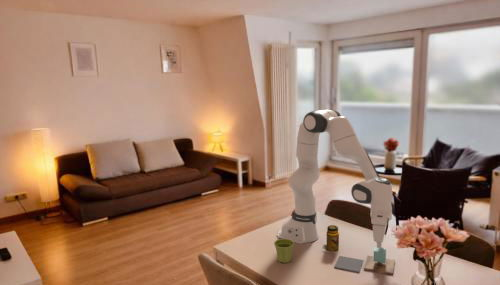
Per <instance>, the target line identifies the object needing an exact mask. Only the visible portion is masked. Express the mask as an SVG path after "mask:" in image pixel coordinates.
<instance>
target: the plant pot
mask: <svg viewBox="0 0 500 285" xmlns="http://www.w3.org/2000/svg"><path fill="white" fill-rule="evenodd" d="M294 244H295V242H293V241H292V240H289V239H281V238H278V239H277V240H275V241H274V242H273V245H274V247H275V250H276V256H277V261H278V262H279V263H283V264H284V263H290V262H291V260H292V252H293V248H294Z"/></svg>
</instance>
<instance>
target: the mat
mask: <svg viewBox="0 0 500 285" xmlns="http://www.w3.org/2000/svg"><path fill="white" fill-rule="evenodd" d="M363 262H364V259H361V258H360V259H358V258H353V257H347V256H342V255H338V257H337V260H336V262H335V264H334V266H333V268H334V269H338V270H343V271H347V272H352V273H358V274H360V272H361V269H362V265H363Z"/></svg>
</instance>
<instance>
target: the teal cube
mask: <svg viewBox="0 0 500 285" xmlns="http://www.w3.org/2000/svg"><path fill="white" fill-rule="evenodd" d="M373 256H374V261H375V262H381V263H385V260H386V259H387V247H382V246H381V249H379V248H377V245H376V246H374V249H373Z"/></svg>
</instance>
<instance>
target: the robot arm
mask: <svg viewBox="0 0 500 285" xmlns="http://www.w3.org/2000/svg"><path fill="white" fill-rule="evenodd" d="M321 133H323V134H324V133H328V134H329V135H330V137H331V139H332V140H331V141H332V144H333V146H334V148H335V151H336V152H337V154H338V155H339V156H341V157H343V158H345V159H349V160H351V161H354V162H355V163H357V165H358V166H359V168H360V170H361V172H362V174H363V176H364V178H365V180H363V181H359V182H357V183H355V184H353V186H352V187H351V190H350V192H351V193H350V194H351V197H352V199H353V200H354V201H355V202H356V203H358V204H362V205H363V204H364V205H370V220H371V221H370V222H371V225H372V237H373V241H374V242H375V243H376V247H377V248H379V249H381V247H382V246H383V245H382V244H383V242H384V239H385V234H386V230H387V226H388V224H389V222H390V221H391V220H392V219H393V218H392V217H393V216H392V215H393V206H392V201H393V185H392V182H391V181H390V179H388V178H386V177H381V176H380V174H379V173H378V171H377V169H376V167H375V165H374V163H373V161H372V159H371V157H370V155H369V153H368V152H367V150H366V149H365V148H364V147H363V146H362V143H360V141H359V139H358V136H357V134H356V131H355V130H354V127H353V125H352V123H351V122H350V120H349V119H348V117H346V116H344V115H341V113H340V112H339V111H338V110H336V109H331V108H330V109H327V108H326V109H318V110H312V111H309V112H307V113H306V114H305V115H304V117H303V120H302V122H301V123H300V125H299V126H298V132H297V137H296V150H295V151H296V152H295V153H296V154H295V156H296V158H297V162H298V168H297V170H295V171H293V172H292V173H291V174H290V176H289V178H288V185H289V187H290V189H291V190H292V193H293V197H294V198H293V199H294V209H293V210H292V212H291V213H290V218H288V219H287V220H285V221H284V222H283V223H282V225H281V228H280V229H279V230H278V232H277V234H276V235H277V238H278V239H289V240H292V241H293V242H294V243H296V244H299V245H301V244H306V243H311V242H315V241H317V240H318V239H319V237H320V236H319V232H318V229H317V228H318V227H317V217H318V216H317V215H318V214H317V211H316V207H317V206H316V203H317V202H316V201H317V200H316V197H315V195H314V192H313V185H314V184H316V183H317V181H318V180H319V178H320V176H321V171H320V169H319V163H318V162H319V161H318V152H319V141H320V140H319V139H320V134H321Z"/></svg>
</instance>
